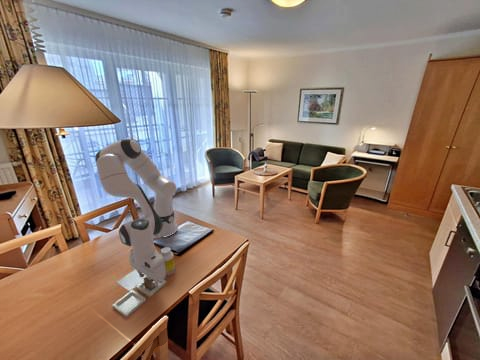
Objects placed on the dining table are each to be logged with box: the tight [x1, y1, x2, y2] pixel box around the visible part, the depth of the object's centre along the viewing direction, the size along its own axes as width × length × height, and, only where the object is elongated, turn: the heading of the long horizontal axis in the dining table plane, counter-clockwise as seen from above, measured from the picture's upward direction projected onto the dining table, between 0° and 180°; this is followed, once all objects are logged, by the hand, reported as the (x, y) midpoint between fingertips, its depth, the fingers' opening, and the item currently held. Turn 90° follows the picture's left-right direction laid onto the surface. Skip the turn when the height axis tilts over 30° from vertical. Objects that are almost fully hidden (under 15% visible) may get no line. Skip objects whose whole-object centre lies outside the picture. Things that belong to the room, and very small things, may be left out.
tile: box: [115, 269, 146, 292], centre depth 102 cm, size 10×10×1 cm
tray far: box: [112, 289, 147, 318], centre depth 90 cm, size 9×9×2 cm
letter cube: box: [144, 276, 156, 290], centre depth 98 cm, size 4×4×5 cm
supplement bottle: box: [160, 246, 176, 276], centre depth 106 cm, size 7×7×13 cm
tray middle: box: [135, 279, 167, 298], centre depth 99 cm, size 9×9×2 cm
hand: (148, 280), depth 97 cm, fingers open, 8 cm apart
